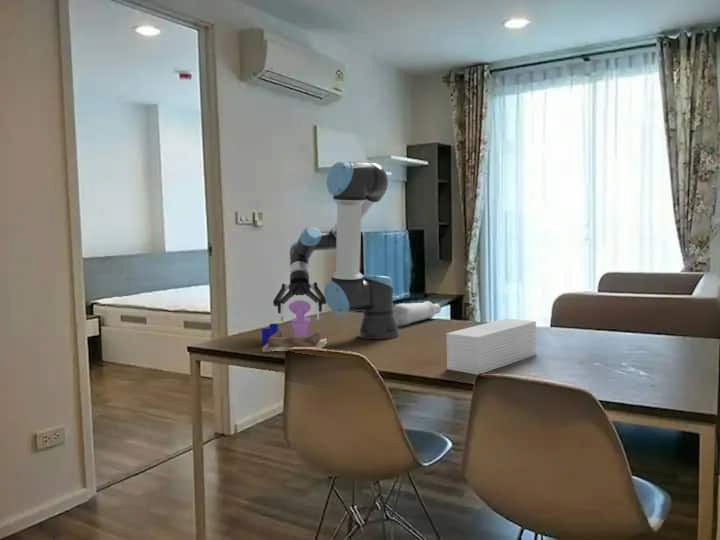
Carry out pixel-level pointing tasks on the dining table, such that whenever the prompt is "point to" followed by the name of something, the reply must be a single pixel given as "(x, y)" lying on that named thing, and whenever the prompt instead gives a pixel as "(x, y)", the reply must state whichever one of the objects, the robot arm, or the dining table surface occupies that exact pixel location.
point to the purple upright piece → (300, 318)
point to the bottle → (414, 312)
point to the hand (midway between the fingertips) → (300, 318)
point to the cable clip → (269, 332)
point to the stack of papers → (490, 345)
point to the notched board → (293, 342)
